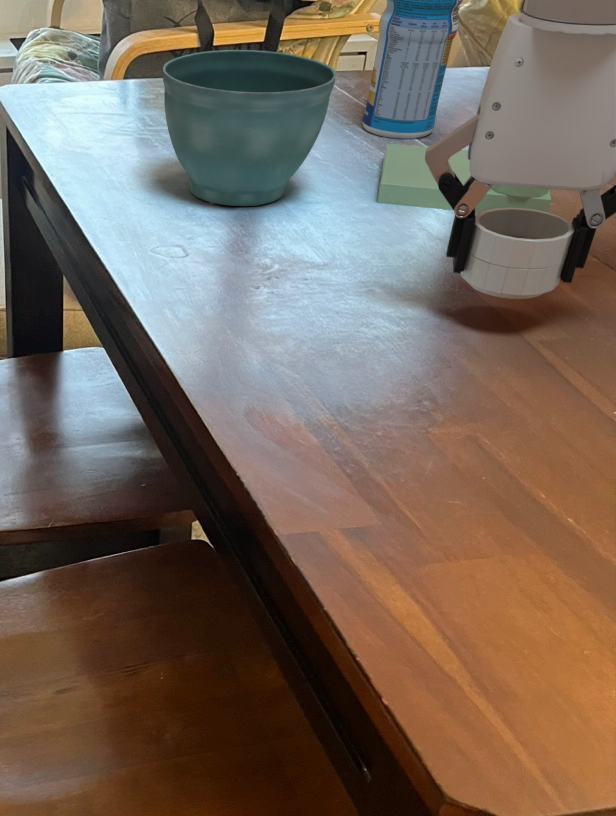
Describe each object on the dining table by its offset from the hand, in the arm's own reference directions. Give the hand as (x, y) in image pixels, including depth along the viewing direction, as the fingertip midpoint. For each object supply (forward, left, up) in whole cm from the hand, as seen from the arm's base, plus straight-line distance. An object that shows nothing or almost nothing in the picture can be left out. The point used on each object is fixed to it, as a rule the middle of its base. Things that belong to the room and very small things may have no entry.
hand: (510, 269), depth 81 cm
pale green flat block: (+3, -33, -4) cm, 33 cm away
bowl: (0, 0, -1) cm, 1 cm away
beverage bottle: (+10, -53, -4) cm, 54 cm away
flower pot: (+25, -25, -4) cm, 35 cm away
